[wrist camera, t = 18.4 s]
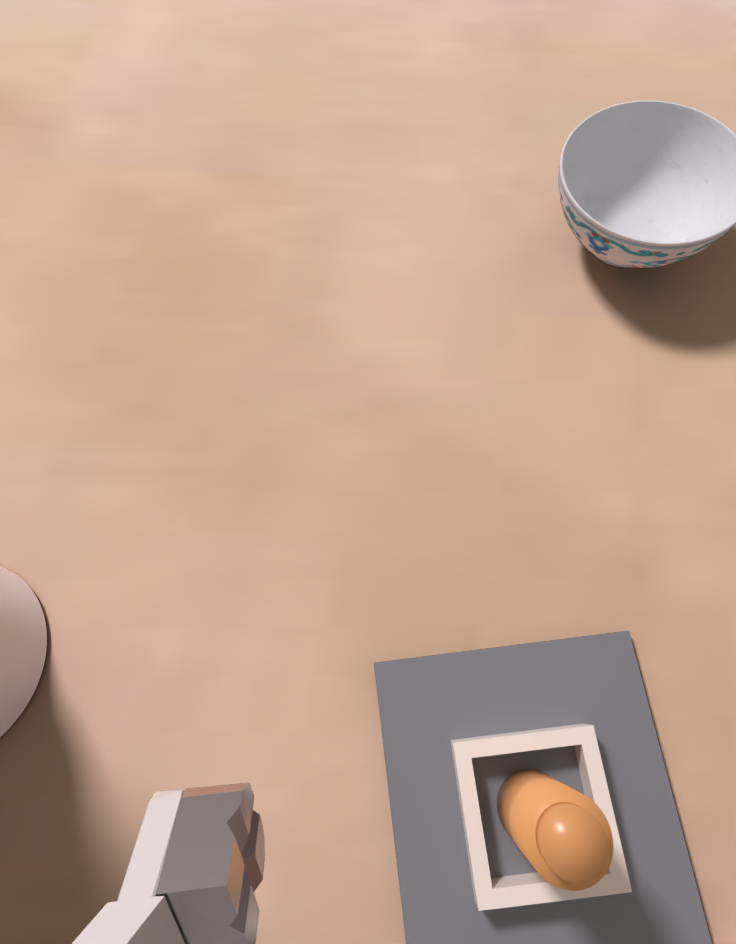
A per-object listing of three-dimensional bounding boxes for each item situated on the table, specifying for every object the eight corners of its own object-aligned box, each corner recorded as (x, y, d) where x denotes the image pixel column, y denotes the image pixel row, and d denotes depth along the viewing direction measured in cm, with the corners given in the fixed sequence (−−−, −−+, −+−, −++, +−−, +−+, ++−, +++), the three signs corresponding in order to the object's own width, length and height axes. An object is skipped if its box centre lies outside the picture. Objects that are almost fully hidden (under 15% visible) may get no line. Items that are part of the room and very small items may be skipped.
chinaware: (529, 293, 52) (550, 229, 45) (548, 166, 57) (570, 91, 50) (706, 319, 50) (757, 257, 43) (710, 186, 55) (757, 110, 48)
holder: (414, 1013, 35) (415, 1039, 32) (374, 663, 42) (372, 661, 39) (715, 976, 35) (741, 1000, 32) (624, 631, 42) (640, 627, 39)
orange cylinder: (503, 850, 37) (538, 903, 27) (491, 772, 38) (519, 797, 29) (573, 843, 37) (632, 893, 27) (558, 765, 38) (608, 787, 29)
